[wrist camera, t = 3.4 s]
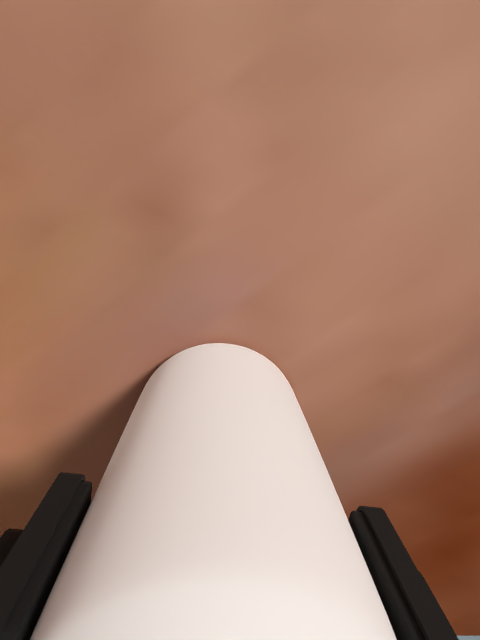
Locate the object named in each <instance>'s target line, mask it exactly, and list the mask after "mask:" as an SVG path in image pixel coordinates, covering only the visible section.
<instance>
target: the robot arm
mask: <svg viewBox="0 0 480 640" xmlns="http://www.w3.org/2000/svg"><path fill="white" fill-rule="evenodd" d="M91 491H92V483H91V482H86V481H85V476H84V475H81V474H72V473H63V472H61V473H60V474H59V475H58V476H57V478H56V480H55V481H54V483H53V484H52V486H51V487H50V489H49V491H48V492H47V494H46V495H45V497H44V499H43V500H42V502H41V503H40V505H39V507H38V508H37V510H36V511H35V513H34V514H33V516H32V518H31V519H30V521H29V522H28V524H27V526H26V527H25V529H24V530H19V529H8V530H7V531H5V532H4V534H3V535H2V536H1V537H0V640H30V638H31V636H32V634H33V631H34V629H35V626H36V624H37V622H38V620H39V617H40V615H41V613H42V611H43V608H44V606H45V604H46V602H47V599H48V597H49V595H50V593H51V590H52V588H53V586H54V584H55V581H56V579H57V577H58V575H59V572H60V570H61V568H62V566H63V564H64V561H65V559H66V557H67V555H68V552H69V550H70V548H71V546H72V544H73V541H74V539H75V537H76V535H77V533H78V530H79V528H80V526H81V524H82V521H83V519H84V517H85V515H86V513H87V510H88V508H89V506H90V502H91ZM348 521H349V524H350V526H351V529H352V531H353V533H354V536H355V538H356V541H357V543H358V545H359V548H360V550H361V553H362V555H363V557H364V560H365V562H366V565H367V567H368V569H369V572H370V574H371V577H372V579H373V582H374V584H375V587H376V589H377V591H378V594H379V596H380V599H381V601H382V604H383V606H384V609H385V611H386V613H387V616H388V618H389V621H390V624H391V626H392V629H393V631H394V634H395V636H396V639H397V640H459V639H458V637H457V636H456V634H455V632H454V630H453V629H452V627H451V625H450V623H449V622H448V620H447V618H446V616H445V614H444V613H443V611H442V609H441V607H440V606H439V604H438V602H437V600H436V599H435V597H434V595H433V593H432V591H431V590H430V588H429V586H428V584H427V583H426V581H425V579H424V577H423V576H422V575H421V573H420V572H419V571H418V570H417V568H416V567H415V565H414V563H413V561H412V559H411V558H410V556H409V554H408V552H407V550H406V549H405V547H404V545H403V543H402V542H401V540H400V538H399V536H398V534H397V533H396V531H395V529H394V527H393V525H392V524H391V522H390V520H389V518H388V517H387V515H386V513H385V511H384V510H383V509H381V508H376V507H367V506H359V507H358V508H357V511H352V512H351V514H350V517H349V520H348Z"/></svg>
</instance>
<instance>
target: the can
mask: <svg viewBox="0 0 480 640" xmlns="http://www.w3.org/2000/svg"><path fill="white" fill-rule="evenodd" d="M30 640H397V639H396V636H395V634H394V631H393V629H392V626H391V624H390V621H389V618H388V616H387V613H386V611H385V609H384V606H383V604H382V601H381V599H380V596H379V594H378V591H377V589H376V587H375V584H374V582H373V579H372V577H371V574H370V572H369V569H368V567H367V565H366V562H365V560H364V557H363V555H362V553H361V550H360V548H359V545H358V543H357V541H356V538H355V536H354V533H353V531H352V529H351V526H350V524H349V521H348V519H347V517H346V514H345V512H344V509H343V507H342V505H341V502H340V500H339V498H338V495H337V493H336V490H335V488H334V486H333V483H332V481H331V479H330V476H329V474H328V471H327V469H326V467H325V464H324V462H323V460H322V457H321V455H320V452H319V450H318V448H317V445H316V443H315V441H314V438H313V436H312V434H311V431H310V429H309V427H308V424H307V422H306V420H305V417H304V415H303V413H302V410H301V408H300V406H299V403H298V401H297V399H296V397H295V394H294V392H293V390H292V388H291V386H290V384H289V382H288V381H287V379H286V378H285V376H284V375H283V373H282V372H281V371H280V370H279V369H278V368H277V367H276V366H275V365H274V364H273V363H272V362H271V361H270V360H268V359H267V358H266V357H264V356H263V355H261V354H259V353H257V352H255V351H253V350H251V349H248V348H245V347H242V346H238V345H233V344H226V343H211V344H203V345H198V346H195V347H191V348H188V349H186V350H183V351H181V352H179V353H177V354H176V355H174V356H172V357H171V358H169V359H168V360H167V361H165V362H164V363H163V364H162V365H161V366H160V367H159V368H158V369H157V370H156V371H155V372H154V373H153V375H152V376H151V377H150V379H149V380H148V382H147V383H146V385H145V387H144V389H143V391H142V393H141V395H140V397H139V399H138V401H137V403H136V406H135V408H134V410H133V412H132V414H131V416H130V418H129V421H128V423H127V425H126V427H125V429H124V431H123V434H122V436H121V438H120V440H119V442H118V445H117V447H116V449H115V451H114V453H113V455H112V458H111V460H110V462H109V464H108V466H107V469H106V471H105V473H104V475H103V477H102V480H101V482H100V484H99V486H98V488H97V491H96V493H95V495H94V497H93V499H92V502H91V504H90V506H89V508H88V510H87V513H86V515H85V517H84V519H83V521H82V524H81V526H80V528H79V530H78V533H77V535H76V537H75V539H74V541H73V544H72V546H71V548H70V550H69V552H68V555H67V557H66V559H65V561H64V564H63V566H62V568H61V570H60V572H59V575H58V577H57V579H56V581H55V584H54V586H53V588H52V590H51V593H50V595H49V597H48V599H47V602H46V604H45V606H44V608H43V611H42V613H41V615H40V617H39V620H38V622H37V624H36V626H35V629H34V631H33V634H32V636H31V638H30Z"/></svg>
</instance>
